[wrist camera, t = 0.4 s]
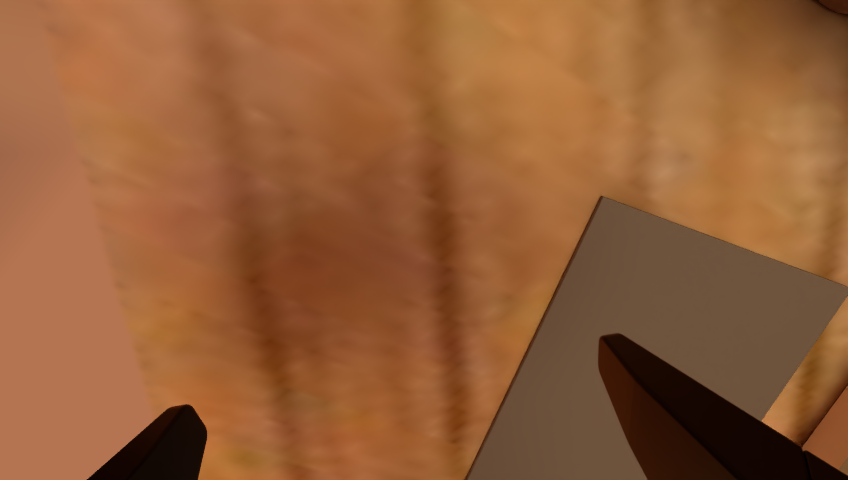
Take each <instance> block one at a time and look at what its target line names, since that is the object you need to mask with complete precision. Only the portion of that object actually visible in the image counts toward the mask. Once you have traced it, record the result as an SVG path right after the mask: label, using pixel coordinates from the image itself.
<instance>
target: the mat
mask: <svg viewBox="0 0 848 480" xmlns="http://www.w3.org/2000/svg"><path fill="white" fill-rule="evenodd" d="M847 296H848V287H847V286H844V285H841V284H839V283H836V282H833V281H830V280H828V279H825V278H822V277H820V276H817V275H814V274H811V273H809V272H806V271H803V270H801V269H798V268H795V267H792V266H790V265H787V264H784V263H782V262H779V261H776V260H774V259H771V258H768V257H765V256H763V255H760V254H757V253H755V252H752V251H749V250H746V249H744V248H741V247H738V246H736V245H733V244H730V243H727V242H725V241H722V240H719V239H717V238H714V237H711V236H709V235H706V234H703V233H700V232H698V231H695V230H692V229H690V228H687V227H684V226H681V225H679V224H676V223H673V222H671V221H668V220H665V219H663V218H660V217H657V216H654V215H652V214H649V213H646V212H644V211H641V210H638V209H635V208H633V207H630V206H627V205H625V204H622V203H619V202H616V201H614V200H611V199H608V198H606V197H603V196H601V198H600V200H599V202H598V204H597V206H596V208H595V210H594V212H593V214H592V216H591V219H590V221H589V223H588V225H587V227H586V229H585V231H584V233H583V235H582V237H581V239H580V241H579V244H578V246H577V248H576V250H575V252H574V254H573V256H572V258H571V260H570V262H569V264H568V267H567V269H566V271H565V273H564V275H563V277H562V279H561V281H560V283H559V285H558V287H557V290H556V292H555V294H554V296H553V298H552V300H551V302H550V304H549V306H548V308H547V310H546V312H545V315H544V317H543V319H542V321H541V323H540V325H539V327H538V329H537V331H536V333H535V335H534V338H533V340H532V342H531V344H530V346H529V348H528V350H527V352H526V354H525V356H524V358H523V361H522V363H521V365H520V367H519V369H518V371H517V373H516V375H515V377H514V379H513V381H512V383H511V386H510V388H509V390H508V392H507V394H506V396H505V398H504V400H503V402H502V404H501V406H500V409H499V411H498V413H497V415H496V417H495V419H494V421H493V423H492V425H491V427H490V429H489V432H488V434H487V436H486V438H485V440H484V442H483V444H482V446H481V448H480V450H479V452H478V454H477V457H476V459H475V461H474V463H473V465H472V467H471V469H470V471H469V473H468V475H467V477H466V480H647V478H646V476H645V474H644V472H643V470H642V469H641V467H640V465H639V463H638V461H637V459H636V457H635V456H634V454H633V452H632V450H631V448H630V446H629V444H628V441H627V439H626V437H625V434H624V432H623V430H622V427H621V425H620V422H619V420H618V417H617V415H616V412H615V410H614V407H613V405H612V403H611V400H610V398H609V395H608V393H607V390H606V388H605V385H604V383H603V380H602V378H601V375H600V372H599V369H598V345H599V338H600V337H601V336H602V335H607V334H613V333H620V334H623V335H624V336H626V337H628V338H629V339H631V340H632V341H634V342H635V343H637V344H639V345H640V346H642V347H643V348H645V349H647V350H648V351H650V352H651V353H653V354H655V355H656V356H658V357H659V358H661V359H663V360H664V361H666V362H667V363H669V364H670V365H672V366H674V367H675V368H677V369H678V370H680V371H682V372H683V373H685V374H686V375H688V376H690V377H691V378H693V379H694V380H696V381H698V382H699V383H701V384H702V385H704V386H705V387H707V388H709V389H710V390H712V391H713V392H715V393H717V394H718V395H720V396H721V397H723V398H725V399H726V400H728V401H729V402H731V403H733V404H734V405H736V406H737V407H739V408H740V409H742V410H744V411H745V412H747V413H748V414H750V415H752V416H753V417H755V418H756V419H758V420H760V421H762V419H763V418H764V416H765V415H766V413H767V412H768V410H769V409H770V408H771V406H772V405H773V403H774V402H775V400H776V399H777V397H778V396H779V395H780V393H781V392H782V390H783V389H784V387H785V386H786V384H787V383H788V381H789V380H790V379H791V377H792V376H793V374H794V373H795V371H796V370H797V368H798V367H799V365H800V364H801V363H802V361H803V360H804V358H805V357H806V355H807V354H808V352H809V351H810V350H811V348H812V347H813V345H814V344H815V342H816V341H817V339H818V338H819V336H820V335H821V334H822V332H823V331H824V329H825V328H826V326H827V325H828V323H829V322H830V321H831V319H832V318H833V316H834V315H835V313H836V312H837V310H838V309H839V307H840V306H841V305H842V303H843V302H844V300H845V299H846V297H847Z"/></svg>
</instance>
